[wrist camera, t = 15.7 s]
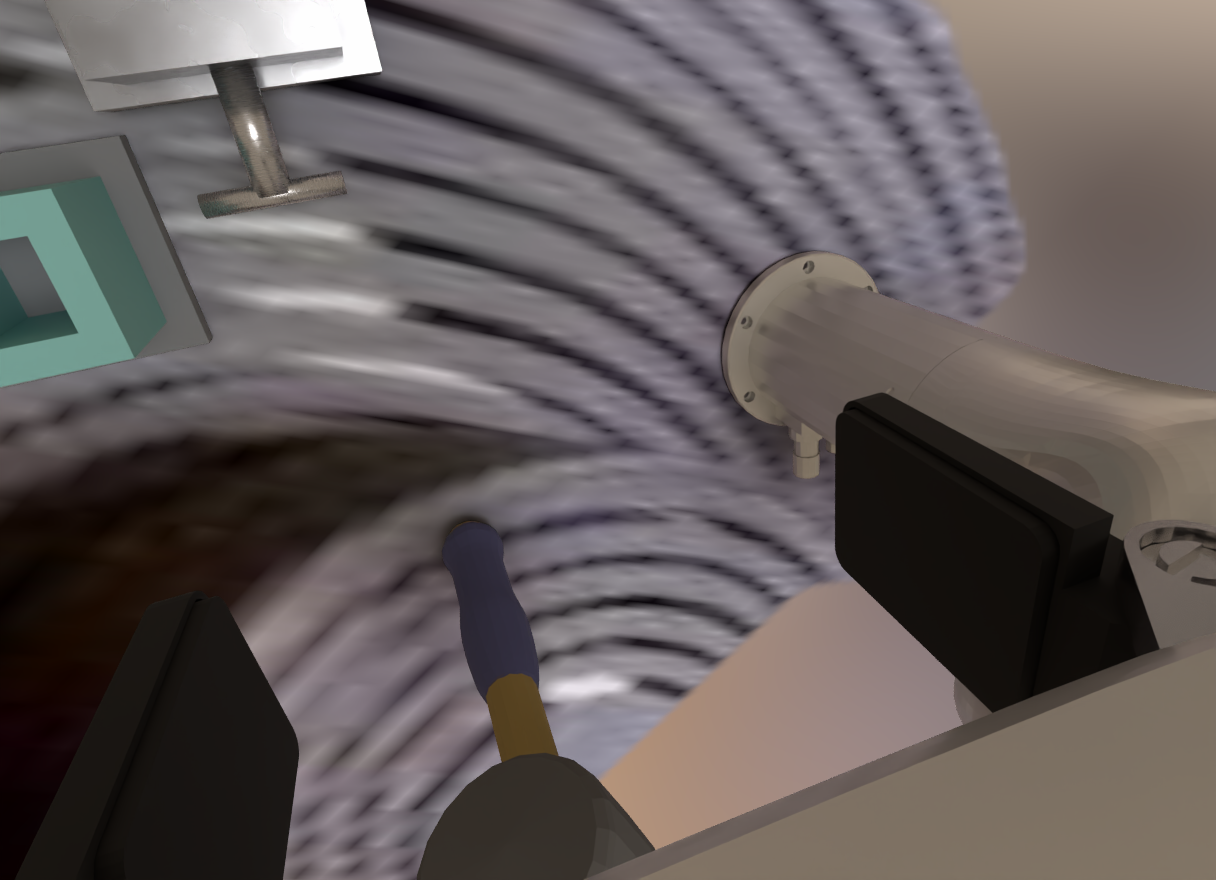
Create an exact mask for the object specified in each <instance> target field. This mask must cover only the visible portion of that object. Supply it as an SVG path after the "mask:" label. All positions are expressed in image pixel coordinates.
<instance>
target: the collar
mask: <svg viewBox="0 0 1216 880" xmlns="http://www.w3.org/2000/svg"><path fill="white" fill-rule="evenodd" d="M24 236H28V238H29V240H30V242H31V244H32V246H33V248H34V250H35V251H36V253H37V255H38V257H39V259H40V261H41V263H42V265H43V267H44V268H45V270H46V272H47V274H48V276H49V278H50V280H51V282H52V284H53V285H54V287H55V289H56V291H57V293H58V295H59V297H60V299H61V301H62V303H63V304H64V306H65V308H66V310H64V311H59V312H54V313H49V314H44V315H39V316H34V317H29V318H28V316H27V314H26V312H25V310H24V309H23V307H22V305H21V303H20V302H19V300H18V298H17V296H16V294H15V293H14V291H13V289H12V287H11V285H10V284H9V282H8V280H7V278H6V276H5V275H4V273H3V271H2V269H1V268H0V387H3V386H8V385H13V384H17V383H22V382H26V381H31V380H36V379H40V378H45V377H50V376H54V375H59V374H64V373H68V372H73V371H78V370H82V369H87V368H92V367H96V366H101V365H105V364H110V363H115V362H119V361H124V360H129V359H133V358H135V357H136V356H137V355H138V354H139V353H140V352H141V351H142V349H143V348H144V347H145V346H146V345H147V344H148V343H149V341H150V340H151V339H152V338H153V337H154V336H155V335H156V334H157V332H158V331H159V330H160V329H161V328H162V327H163V326H164V324H165V323H166V322H167V321H166V319H165V316H164V314H163V312H162V310H161V308H160V306H159V303H158V301H157V299H156V297H155V295H154V292H153V290H152V288H151V286H150V284H149V282H148V279H147V277H146V275H145V273H144V271H143V269H142V266H141V264H140V262H139V260H138V258H137V255H136V253H135V251H134V249H133V247H132V245H131V242H130V240H129V238H128V236H127V234H126V231H125V229H124V227H123V225H122V223H121V221H120V218H119V216H118V214H117V212H116V210H115V208H114V205H113V203H112V201H111V199H110V197H109V194H108V192H107V190H106V188H105V186H104V184H103V181H102V179H101V177H100V176H98V177H92V178H85V179H79V180H73V181H66V182H60V183H54V184H47V185H41V186H35V187H28V188H22V189H15V190H9V191H3V192H0V241H1V240H6V239H12V238H18V237H24Z"/></svg>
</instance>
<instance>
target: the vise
mask: <svg viewBox="0 0 1216 880" xmlns="http://www.w3.org/2000/svg"><path fill="white" fill-rule="evenodd" d="M44 1H45V3H46V6H47V8H48V10H49V12H50V15H51V17H52V19H53V21H54V23H55V26H56V28H57V30H58V32H59V35H60V37H61V39H62V41H63V44H64V46H65V48H66V50H67V53H68V55H69V57H70V59H71V62H72V64H73V66H74V68H75V71H76V73H77V75H78V77H79V79H80V82H81V84H82V86H83V88H84V91H85V93H86V95H87V97H88V100H89V102H90V104H91V106H92V109H93V111H100V112H116V111H123V110H130V109H137V108H144V107H151V106H158V105H165V104H173V103H180V102H187V101H194V100H201V99H208V98H215V97H219V98H220V100H221V103H222V106H223V109H224V111H225V114H226V117H227V120H228V122H229V125H230V128H231V131H232V133H233V136H234V139H235V142H236V144H237V147H238V150H239V153H240V155H241V158H242V161H243V164H244V166H245V169H246V172H247V175H248V177H249V180H250V183H251V186H247V187H241V188H235V189H229V190H224V191H218V192H212V193H206V194H200V195H198V196H197V197H198V202H199V205H200V208H201V210H202V212H203V214H204V216H205V217H206V218H207V219H208V218H214V217H220V216H225V215H231V214H236V213H242V212H248V211H253V210H259V209H264V208H270V207H276V206H281V205H287V204H292V203H298V202H304V201H309V200H315V199H320V198H326V197H332V196H337V195H343V194H347V189H346V186H345V182H344V179H343V176H342V173H341V171H335V172H329V173H323V174H317V175H312V176H306V177H300V178H294V179H290V178H289V175H288V172H287V169H286V166H285V163H284V160H283V157H282V154H281V151H280V148H279V146H278V143H277V140H276V137H275V134H274V131H273V128H272V125H271V122H270V119H269V116H268V113H267V110H266V107H265V104H264V101H263V98H262V95H261V92H260V91H265V90H272V89H279V88H286V87H293V86H300V85H308V84H315V83H322V82H329V81H336V80H343V79H350V78H357V77H364V76H372V75H379V74H380V73H381V72H382V68H381V64H380V61H379V57H378V53H377V49H376V45H375V41H374V37H373V33H372V29H371V26H370V22H369V18H368V14H367V10H366V6H365V2H364V0H44Z"/></svg>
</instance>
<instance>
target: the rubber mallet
mask: <svg viewBox="0 0 1216 880" xmlns="http://www.w3.org/2000/svg"><path fill="white" fill-rule="evenodd" d="M503 554H504V551H503V543H502V540H501V538H500V537H499V535H498V533H497V532H496V530H495V529H494V528H492V527H491V526H489V525H487V524H484V523H479V522H477V521H466V522H463V523H461V524H458V525H457V526H456V527H455V528H454V529H453V530H452V531H451V532H450V534H449V535H448V536H447V538H446V541H445V543H444V546H443V549H442V555H443V561H444V564H445V566H446V567H447V569H448V570H449V571H450V573H451V575H452V577H453V579H454V584H455V588H456V592H457V597H458V601H459V605H460V629H461V637H462V643H463V647H464V651H465V655H466V659H467V662H468V665H469V668H470V671H471V674H472V676H473V679H474V682H475V684H476V687H477V689H478V691H479V693H480V695H481V696H482V698H483V699H484V700H485V702H486V703H487V704H488V708H489V712H490V716H491V720H492V724H493V729H494V733H495V737H496V741H497V745H498V749H499V753H500V757H501V761H502V763H499V764H497V765H495V766H492V767H491V768H490V769H488V770H487V771H485V772H484V773H483V774H481V775H480V776H479V777H477V778H476V779H475V780H473V781H472V782H471V783H469V784H468V785H467V786H466V787H465V788H464V789H463V790H462V792H461V793H460V794H459V795H458V796H457V797H456V798H455V800H454V801H453V802H452V803H451V804H450V805H449V806H448V808H447V809H446V810H445V811H444V813H443V815H442V817H441V818H440V820H439V822H438V824H437V826H436V827H435V829H434V831H433V833H432V834H431V836H430V838H429V840H428V842H427V845H426V848H425V851H424V855H423V858H422V861H421V864H420V868H419V871H418V874H417V880H584V879H587V878H589V877H591V876H594V875H596V874H599V873H601V872H604V871H606V870H608V869H611V868H613V867H616V866H618V865H620V864H623V863H625V862H628V861H630V860H633V859H635V858H637V857H640V856H642V855H645V854H647V853H650V852H652V851H655V848H654V847H653V845H652V844H651V843H650V842H649V840H648V839H647V838H646V836H645V835H644V834H643V833H642V832H641V830H640V829H639V828H638V826H637V825H636V824H635V823H634V821H633V820H632V819H631V818H630V816H629V815H628V814H627V813H626V812H625V810H624V809H623V808H622V807H621V806H620V804H619V803H618V802H617V801H616V800H615V799H614V798H613V797H612V795H611V794H610V793H609V792H608V791H607V790H606V788H605V787H604V786H603V785H602V784H601V783H600V782H599V780H598V779H597V778H596V777H595V776H594V775H593V774H591V773H590V772H589V771H587V770H586V769H585V768H583V767H582V766H581V765H579V764H578V763H577V762H575V761H574V760H571V759H568V758H564V757H560V756H558V752H557V749H556V746H555V743H554V739H553V736H552V733H551V730H550V727H549V723H548V720H547V717H546V714H545V710H544V707H543V704H542V701H541V697H540V694H539V691H538V688H539V665H538V658H537V654H536V649H535V644H534V639H533V635H532V632H531V628H530V625H529V622H528V619H527V617H526V614H525V612H524V610H523V608H522V607H521V605H520V603H519V602H518V600H517V598H516V596H515V594H514V592H513V590H512V587H511V584H510V581H509V578H508V575H507V572H506V569H505V566H504V563H503Z"/></svg>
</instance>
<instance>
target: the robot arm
mask: <svg viewBox="0 0 1216 880" xmlns="http://www.w3.org/2000/svg"><path fill="white" fill-rule="evenodd" d="M742 319H743V320H742ZM741 321H742V322H741ZM722 365H723V371H724V378H725V380H726V383H727V386H728V388H729V391H730V392H731V394H732V396H733V397H734V399H735V400H736V402H737V403H738V404H739V405H740V406H741V407H742V408H744V409H745V410H746V411H747V412H748V413H750V414H751V415H753V416H754V417H755V418H757V419H759V420H761V421H764V422H766V423H768V424H773V425H779V426H788V427H789V437H790V438H791V439H792V440H794V450H793V474H794V475H795V476H797V477H800V478H808V479H809V478H813V477H816V476H817V475H819V469H820V451H819V440H820V439H822V438H825V439H826V450H827V451H828V452H830V453H835V551H836V555H837V558H838V560H839V563H840V564H841V566H842V567H843V569H844V570H845V571H846V572H847V573H848V574H849V575H850V576H851V577H852V578H853V579H854V580H855V581H856V582H857V583H859V584H860V585H861V586H862V587H863V588H864V589H865V590H866V591H867V592H868V593H869V594H870V595H871V596H872V597H873V598H874V599H875V600H876V601H877V602H878V603H879V604H880V605H881V606H883V608H885V610H886V611H887V612H889V613H890V614H891V615H892V616H893V617H894V618H895V619H896V620H897V621H898V622H899V623H900V624H901V625H902V626H903V627H904V628H905V629H906V630H907V631H908V632H909V633H910V634H911V635H912V636H914V638H916V640H918V641H919V642H920V643H921V644H922V645H923V646H924V647H925V648H926V649H927V650H928V651H929V652H930V653H931V654H932V655H933V656H934V657H935V658H936V659H937V660H939V662H940V663H941V664H942V665H943V666H944V667H946V668H947V669H948V670H949V671H950V672H951V673H952V674H953V675H954V676H955V680H954V700H955V705H956V710H957V712H958V715H959V717H960V719H961V721H962V723H963V725H962V726H959V727H957V728H954V729H952V730H949V731H947V732H944V733H942V734H939V735H937V736H934V737H932V738H929V739H927V740H924V741H922V742H919V743H917V744H915V745H912V746H909V747H907V748H904V749H902V750H899V751H897V752H895V753H892V754H890V755H887V756H885V757H882V758H880V759H877V760H875V761H872V762H870V763H867V764H865V765H862V766H860V767H857V768H855V769H852V770H850V771H848V772H845V773H843V774H840V775H838V776H836V777H833V778H830V779H828V780H826V781H823V782H821V783H818V784H816V785H813V786H811V787H808V788H806V789H803V790H801V791H799V792H796V793H794V794H791V795H789V796H786V797H784V798H781V799H779V800H777V801H774V802H772V803H769V804H767V805H764V806H762V807H759V808H757V809H755V810H752V811H750V812H747V813H745V814H742V815H740V816H737V817H735V818H732V819H730V820H728V821H726V822H723V823H720V824H718V825H715V826H713V827H711V828H708V829H706V830H703V831H701V832H698V833H696V834H694V835H691V836H689V837H686V838H684V839H682V840H679V841H676V842H674V843H672V844H669V845H667V846H664V847H662V848H660V849H657V850H655V851H652V852H650V853H647V854H645V855H642V856H640V857H637V858H635V859H633V860H630V861H628V862H625V863H623V864H620V865H618V866H616V867H613V868H611V869H608V870H606V871H604V872H601V873H599V874H596V875H594V876H591V877H589V878H587V879H584V880H1216V392H1215V391H1209V390H1203V389H1198V388H1193V387H1188V386H1182V385H1177V384H1171V383H1166V382H1161V381H1156V380H1151V379H1147V378H1142V377H1138V376H1134V375H1129V374H1125V373H1120V372H1116V371H1112V370H1108V369H1105V368H1101V367H1098V366H1095V365H1091V364H1088V363H1085V362H1081V361H1078V360H1075V359H1071V358H1068V357H1065V356H1061V355H1058V354H1055V353H1051V352H1048V351H1045V350H1042V349H1039V348H1036V347H1033V346H1030V345H1027V344H1025V343H1022V342H1019V341H1016V340H1013V339H1010V338H1007V337H1004V336H1001V335H998V334H995V333H992V332H989V331H986V330H983V329H981V328H978V327H975V326H972V325H969V324H966V323H963V322H960V321H957V320H954V319H951V318H948V317H945V316H943V315H940V314H937V313H934V312H931V311H928V310H925V309H922V308H919V307H916V306H913V305H910V304H907V303H905V302H902V301H899V300H896V299H893V298H890V297H887V296H884V295H881V294H879V292H878V290H877V288H876V285H875V283H874V281H873V279H872V278H871V277H870V275H869V274H868V273H867V271H866V270H865V269H864V268H862V267H861V266H860V265H859V264H857V263H856V262H855V261H853V260H851V259H848V258H846V257H844V256H842V255H838V254H834V253H830V252H821V251H811V252H805V253H799V254H796V255H793V256H791V257H788V258H786V259H783V260H781V261H780V262H778V263H776V264H775V265H773V266H772V267H770V268H768V269H767V270H766V271H765V272H764V273H762V274H761V275H760V276H759V277H758V278H757V279H756V280H755V281H754V282H753V283H752V284H751V285H750V286H749V288H748V289H747V290H746V291H745V293H744V294H743V295H742V297H741V298H740V300H739V302H738V303H737V305H736V307H735V309H734V310H733V312H732V315H731V317H730V320H729V323H728V325H727V328H726V332H725V337H724V341H723V349H722ZM298 760H299V747H298V741H297V737H296V734H295V732H294V729H293V727H292V725H291V724H290V722H289V720H288V718H287V716H286V714H285V713H284V711H283V709H282V707H281V705H280V703H279V701H278V700H277V698H276V696H275V694H274V692H273V690H272V689H271V687H270V685H269V683H268V681H267V679H266V677H265V676H264V674H263V672H262V670H261V668H260V666H259V664H258V663H257V661H256V659H255V657H254V655H253V653H252V652H251V650H250V648H249V646H248V644H247V642H246V640H245V639H244V637H243V635H242V633H241V631H240V629H239V628H238V626H237V624H236V622H235V620H234V618H233V616H232V615H231V613H230V611H229V609H228V607H227V605H226V604H225V602H224V601H223V600H222V599H221V598H220V597H218V596H215V597H212V598H208V597H207V596H206V595H205V594H204V593H203V592H201V591H194V592H191V593H187V594H184V595H180V596H177V597H173V598H170V599H166V600H163V601H160V602H156V603H153V604H151V605H149V606H148V608H147V609H146V611H145V613H144V615H143V617H142V619H141V621H140V623H139V625H138V627H137V629H136V631H135V633H134V635H133V637H132V639H131V641H130V643H129V646H128V648H127V650H126V652H125V654H124V656H123V658H122V660H121V662H120V664H119V666H118V668H117V670H116V672H115V674H114V676H113V678H112V680H111V683H110V685H109V687H108V689H107V691H106V693H105V695H104V697H103V699H102V701H101V703H100V705H99V707H98V709H97V711H96V713H95V715H94V718H93V720H92V722H91V724H90V726H89V728H88V730H87V732H86V734H85V736H84V738H83V740H82V742H81V744H80V746H79V748H78V750H77V753H76V755H75V757H74V759H73V761H72V763H71V765H70V767H69V769H68V771H67V773H66V775H65V777H64V779H63V781H62V783H61V785H60V788H59V790H58V792H57V794H56V796H55V798H54V800H53V802H52V804H51V806H50V808H49V810H48V812H47V814H46V816H45V818H44V820H43V822H42V825H41V827H40V829H39V831H38V833H37V835H36V837H35V839H34V841H33V843H32V845H31V847H30V849H29V851H28V853H27V855H26V857H25V860H24V862H23V864H22V866H21V868H20V870H19V872H18V874H17V876H16V878H15V880H283V874H284V867H285V859H286V851H287V844H288V836H289V828H290V821H291V813H292V806H293V798H294V790H295V783H296V775H297V768H298Z"/></svg>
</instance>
